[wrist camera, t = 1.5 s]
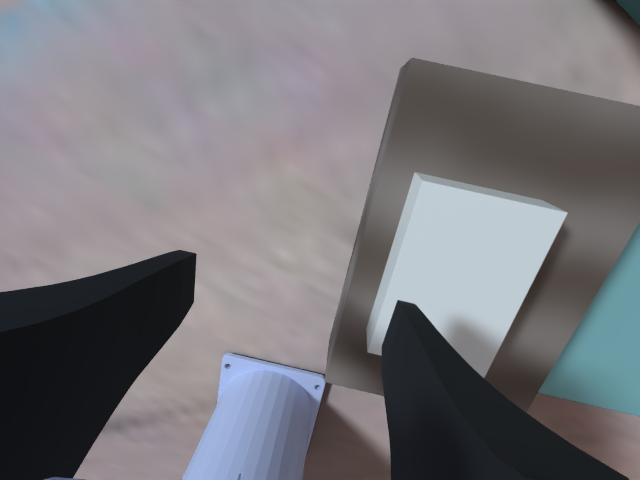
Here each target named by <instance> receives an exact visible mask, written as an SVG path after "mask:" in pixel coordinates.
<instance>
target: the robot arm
mask: <svg viewBox="0 0 640 480" xmlns="http://www.w3.org/2000/svg"><path fill="white" fill-rule="evenodd" d="M195 270H196V254H195V253H191V252H187V251H182V250H177V251H173V252H169V253H166V254H162V255H159V256H156V257H153V258H150V259H147V260H144V261H141V262H138V263H135V264H131V265H128V266H125V267H122V268H118V269H115V270H111V271H108V272H104V273H101V274H97V275H94V276H90V277H86V278H81V279H77V280H73V281H68V282H63V283H58V284H53V285H47V286H41V287H34V288H27V289H21V290H14V291H7V292H0V480H84V479H73V477H74V475H75V473H76V472H77V470H78V468H79V467H80V465H81V463H82V462H83V460H84V458H85V457H86V455H87V453H88V452H89V450H90V448H91V447H92V445H93V443H94V442H95V440H96V439H97V437H98V435H99V434H100V432H101V431H102V429H103V428H104V426H105V424H106V423H107V421H108V420H109V418H110V416H111V415H112V413H113V412H114V410H115V409H116V407H117V406H118V404H119V403H120V401H121V400H122V398H123V397H124V395H125V394H126V392H127V391H128V389H129V388H130V386H131V385H132V384H133V382H134V381H135V380H136V378H137V377H138V376H139V375H140V373H141V372H142V371H143V370H144V368H145V367H146V366H147V365H148V364H149V362H150V361H151V360H152V359H153V358H154V356H155V355H156V354H157V353H158V351H159V350H160V349H161V348H162V347H163V345H164V344H165V343H166V342H167V341H168V339H169V338H170V337H171V336H172V334H173V333H174V332H175V331H176V329H177V328H178V327H179V326H180V324H181V322H182V321H183V319H184V318H185V316H186V314H187V313H188V311H189V309H190V308H191V306H192V304H193V302H194V288H195ZM227 364H230V365H231V366H229V365H227ZM381 373H382V382H383V390H384V398H385V406H386V414H387V422H388V429H389V439H390V452H391V480H629V479H628V478H627V477H625V476H624V475H622V474H620V473H619V472H617V471H615V470H614V469H612V468H610V467H609V466H607V465H605V464H604V463H602V462H600V461H599V460H597V459H595V458H593V457H592V456H590V455H588V454H587V453H585V452H583V451H582V450H580V449H578V448H577V447H575V446H574V445H572V444H571V443H569V442H568V441H566V440H565V439H563V438H562V437H560V436H559V435H557V434H556V433H554V432H553V431H551V430H550V429H548V428H547V427H545V426H544V425H542V424H541V423H540V422H538V421H537V420H535V419H534V418H532V417H531V416H530V415H528V414H527V413H526V412H524V411H523V410H522V409H521V408H519V407H518V406H517V405H515V404H514V403H513V402H511V401H510V400H509V399H508V398H506V397H505V396H504V395H503V394H501V393H500V392H499V391H498V390H497V389H495V388H494V387H493V386H492V385H491V384H490V383H489V382H488V381H486V380H485V379H484V378H483V377H482V376H481V375H480V374H479V373H478V372H477V371H475V370H474V369H473V368H472V367H471V366H470V365H469V364H468V363H467V362H466V361H465V360H464V359H463V358H462V357H461V356H460V354H459V353H458V352H457V351H456V350H455V349H454V348H453V347H452V346H451V345H450V344H449V343H448V341H447V340H446V339H445V338H444V337H443V336H442V335H441V334H440V332H439V331H438V330H437V329H436V328H435V326H434V325H433V324H432V323H431V322H430V320H429V319H428V318H427V317H426V316H425V314H424V313H423V312H422V311H421V310H420V309H419V308H418V306H417V305H416V304H413V303H409V302H405V301H400V300H397V303H396V306H395V309H394V312H393V315H392V317H391V320H390V323H389V326H388V329H387V332H386V335H385V338H384V341H383V344H382V356H381ZM324 381H325V376H323V375H321V374H317V373H313V372H309V371H305V370H300V369H296V368H292V367H288V366H283V365H279V364H275V363H271V362H266V361H262V360H258V359H254V358H249V357H245V356H241V355H237V354H232V353H226V354H225V355H224V357H223V359H222V366H221V375H220V384H219V393H218V402H217V406H216V408H215V410H214V412H213V415H212V417H211V419H210V421H209V423H208V425H207V427H206V429H205V431H204V434H203V436H202V438H201V440H200V442H199V444H198V446H197V448H196V451H195V453H194V455H193V457H192V459H191V461H190V463H189V465H188V467H187V470H186V472H185V474H184V476H183V478H182V480H302V479H303V472H304V465H305V458H306V454H307V450H308V447H309V443H310V439H311V436H312V432H313V428H314V425H315V421H316V417H317V414H318V410H319V406H320V403H321V399H322V395H323V392H324V388H325V384H326V382H324ZM316 385H319V386H316Z"/></svg>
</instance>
